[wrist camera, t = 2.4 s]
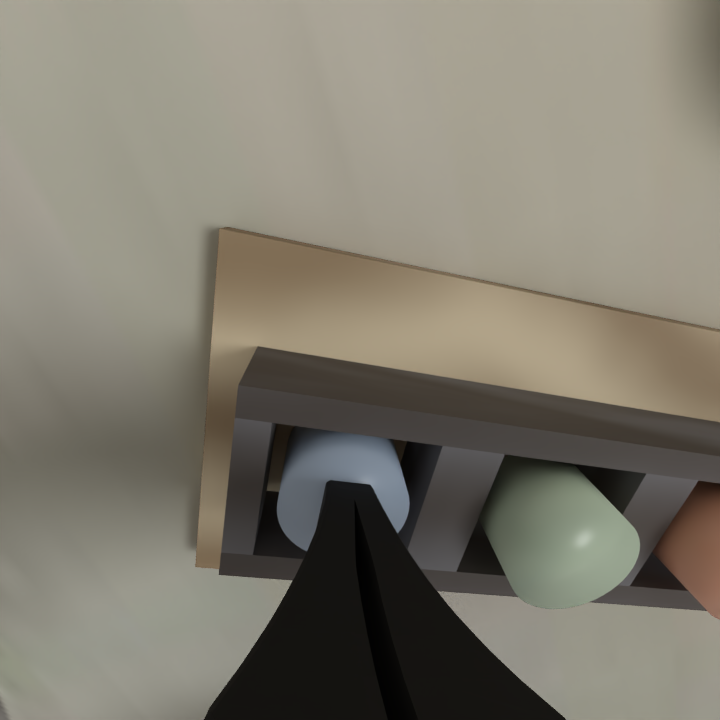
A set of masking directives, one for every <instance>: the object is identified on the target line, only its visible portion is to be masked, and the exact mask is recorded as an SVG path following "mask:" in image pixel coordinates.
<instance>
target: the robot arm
mask: <svg viewBox="0 0 720 720" xmlns="http://www.w3.org/2000/svg"><path fill="white" fill-rule="evenodd" d="M204 720H566V719H565V718H564V717H563V716H562V715H561V714H560V713H558V712H557V711H556V710H555V709H554V708H553V707H551V706H550V705H549V704H548V703H547V702H546V701H544V700H543V699H542V698H541V697H540V696H539V695H538V694H536V693H535V692H534V691H533V690H532V689H531V688H529V687H528V686H527V685H526V684H525V683H524V682H522V681H521V680H520V679H519V678H518V677H517V676H516V675H515V674H514V673H513V672H512V671H511V670H510V669H508V668H507V667H506V666H505V665H504V664H503V663H502V662H501V661H500V660H499V659H498V658H497V657H496V656H495V655H494V654H493V653H492V652H491V651H490V650H489V649H488V648H487V647H486V646H485V645H484V644H483V643H482V642H481V641H480V640H479V639H478V638H477V637H476V636H475V634H474V633H473V632H472V631H471V630H470V629H469V628H468V627H467V626H466V625H465V624H464V623H463V621H462V620H461V619H460V618H459V617H458V616H457V615H456V614H455V613H454V611H453V610H452V609H451V608H450V607H449V606H448V604H447V603H446V602H445V601H444V599H443V598H442V597H441V596H440V594H439V593H438V592H437V591H436V589H435V588H434V587H433V585H432V584H431V583H430V581H429V580H428V579H427V577H426V576H425V575H424V573H423V572H422V570H421V569H420V567H419V566H418V565H417V563H416V562H415V560H414V559H413V557H412V556H411V554H410V553H409V551H408V550H407V548H406V546H405V545H404V543H403V542H402V540H401V538H400V537H399V535H398V533H397V532H396V530H395V528H394V527H393V525H392V523H391V521H390V520H389V518H388V516H387V514H386V512H385V511H384V509H383V507H382V505H381V503H380V501H379V499H378V497H377V495H376V493H375V491H374V489H373V488H372V486H371V485H370V484H361V483H352V482H343V481H335V480H330V481H328V482H326V485H325V490H324V495H323V499H322V504H321V508H320V513H319V518H318V522H317V527H316V531H315V533H314V536H313V538H312V541H311V543H310V545H309V548H308V550H307V552H306V555H305V557H304V559H303V561H302V563H301V565H300V567H299V570H298V572H297V574H296V576H295V577H294V579H293V581H292V583H291V585H290V587H289V589H288V591H287V593H286V594H285V596H284V598H283V600H282V601H281V603H280V605H279V607H278V608H277V610H276V612H275V613H274V615H273V617H272V618H271V620H270V622H269V623H268V625H267V627H266V628H265V630H264V631H263V633H262V634H261V636H260V637H259V639H258V640H257V642H256V643H255V645H254V646H253V648H252V649H251V651H250V652H249V654H248V655H247V657H246V658H245V660H244V661H243V663H242V664H241V666H240V667H239V668H238V670H237V671H236V673H235V674H234V675H233V677H232V678H231V679H230V681H229V682H228V683H227V685H226V686H225V687H224V689H223V690H222V692H221V693H220V694H219V696H218V697H217V698H216V700H215V701H214V702H213V704H212V705H211V707H210V708H209V710H208V712H207V715H206V717H205V719H204Z"/></svg>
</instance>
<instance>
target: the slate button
mask: <svg viewBox="0 0 720 720" xmlns="http://www.w3.org/2000/svg"><path fill="white" fill-rule="evenodd" d="M330 480H335V481H343V482H352V483H361V484H370V485H371V486H372V488H373V489H374V491H375V493H376V495H377V497H378V499H379V501H380V503H381V505H382V507H383V509H384V511H385V512H386V514H387V516H388V518H389V520H390V521H391V523H392V525H393V527H394V528H395V530H396V532H397V533H398V532H399V531H400V530H401V528H402V527H403V525H404V523H405V521H406V519H407V516H408V512H409V504H410V503H409V495H408V491H407V488H406V484H405V480H404V477H403V473H402V470H401V466H400V463H399V459H398V456H397V452H396V448H395V445H394V441H393V439H388V438H380V437H373V436H365V435H358V434H351V433H343V432H336V431H329V430H321V429H314V428H306V427H299V426H295V427H294V428H293V430H292V432H291V434H290V436H289V439H288V443H287V449H286V455H285V461H284V467H283V473H282V478H281V484H280V490H279V496H278V502H277V517H278V521H279V524H280V526H281V528H282V530H283V532H284V533H285V535H286V536H287V537H288V538H289V539H290V540H291V541H292V542H293V543H294V544H295V545H297V546H298V547H300V548H301V549H303V550H305V551H307V550H308V548H309V545H310V543H311V541H312V538H313V536H314V533H315V531H316V527H317V522H318V518H319V513H320V508H321V504H322V499H323V495H324V490H325V485H326V482H328V481H330Z"/></svg>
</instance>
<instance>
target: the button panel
mask: <svg viewBox="0 0 720 720" xmlns="http://www.w3.org/2000/svg"><path fill="white" fill-rule="evenodd" d="M295 426H299V427H306V428H314V429H321V430H329V431H336V432H343V433H351V434H358V435H365V436H373V437H380V438H388V439H393V441H394V445H395V448H396V452H397V456H398V459H399V463H400V466H401V470H402V473H403V477H404V480H405V484H406V488H407V491H408V495H409V503H410V504H409V512H408V516H407V519H406V521H405V523H404V525H403V527H402V528H401V530H400V531H399V532H398V535H399V537H400V538H401V540H402V542H403V543H404V545H405V546H406V548H407V550H408V551H409V553H410V554H411V556H412V557H413V559H414V560H415V562H416V563H417V565H418V566H419V567H420V569H421V570H422V572H423V573H424V575H425V576H426V577H427V579H428V580H429V581H430V583H431V584H432V585H433V587H434V588H435V589H436V591H445V592H459V593H472V594H486V595H499V596H513V597H518V596H517V595H516V594H515V592H514V591H513V589H512V587H511V585H510V583H509V581H508V579H507V577H506V575H505V572H504V570H503V568H502V566H501V564H500V562H499V560H498V558H497V556H496V554H495V552H494V550H493V548H492V546H491V544H490V541H489V539H488V537H487V535H486V533H485V531H484V529H483V527H482V525H481V523H480V521H479V519H478V518H479V516H480V513H481V511H482V508H483V506H484V504H485V501H486V499H487V496H488V494H489V491H490V489H491V487H492V484H493V482H494V479H495V477H496V475H497V472H498V470H499V467H500V465H501V462H502V460H503V458H505V457H507V456H509V455H513V456H521V457H528V458H536V459H543V460H550V461H558V462H565V463H573V464H574V465H575V466H576V467H577V468H578V469H579V470H580V471H581V472H582V473H583V474H584V476H585V477H586V478H587V479H588V480H589V481H590V482H591V483H592V484H593V485H594V486H595V487H596V488H597V489H598V490H599V491H600V492H601V493H602V494H603V495H604V496H605V497H606V499H607V500H608V501H609V502H610V503H611V504H612V505H613V506H614V507H615V508H616V509H617V510H618V511H619V512H620V513H621V514H622V515H623V516H624V517H625V518H626V519H627V520H628V522H629V523H630V524H631V525H632V526H633V527H634V528H635V530H636V531H637V533H638V536H639V540H640V551H639V555H638V558H637V561H636V563H635V565H634V567H633V569H632V570H631V571H630V573H629V574H628V575H627V576H626V578H625V579H624V580H623V581H622V582H621V583H620V584H618V585H617V586H616V587H615V588H613V589H612V590H611V591H609V592H608V593H606V594H605V595H603V596H601V597H599V598H597V599H595V600H593V601H590V602H594V603H608V604H621V605H635V606H648V607H662V608H675V609H689V610H702V611H707V610H706V609H705V608H704V607H703V606H702V605H701V604H700V603H699V602H698V600H697V599H696V598H695V597H694V596H693V595H692V594H691V593H690V592H689V591H688V590H687V589H686V588H685V587H684V586H683V585H682V583H681V582H680V581H679V580H678V579H677V578H676V577H675V576H674V575H673V574H672V573H671V572H670V571H669V570H668V569H667V567H666V566H665V565H664V564H663V563H662V562H661V561H660V560H659V559H658V558H657V557H656V556H655V555H654V554H653V553H652V551H653V550H654V548H655V546H656V545H657V543H658V542H659V540H660V539H661V537H662V536H663V534H664V533H665V531H666V530H667V528H668V527H669V525H670V524H671V522H672V520H673V519H674V517H675V516H676V514H677V513H678V511H679V510H680V508H681V507H682V505H683V504H684V502H685V501H686V499H687V498H688V496H689V495H690V493H691V491H692V490H693V488H694V487H695V485H696V484H697V482H698V481H706V482H713V483H720V330H719V329H714V328H709V327H704V326H699V325H695V324H690V323H685V322H680V321H675V320H671V319H666V318H661V317H656V316H651V315H647V314H642V313H637V312H632V311H627V310H623V309H618V308H613V307H608V306H604V305H599V304H594V303H589V302H584V301H580V300H575V299H570V298H565V297H560V296H556V295H551V294H546V293H541V292H536V291H532V290H527V289H522V288H517V287H512V286H508V285H503V284H498V283H493V282H489V281H484V280H479V279H474V278H469V277H465V276H460V275H455V274H450V273H445V272H441V271H436V270H431V269H426V268H421V267H417V266H412V265H407V264H402V263H397V262H393V261H388V260H383V259H378V258H374V257H369V256H364V255H359V254H354V253H350V252H345V251H340V250H335V249H330V248H326V247H321V246H316V245H311V244H306V243H302V242H297V241H292V240H287V239H283V238H278V237H273V236H268V235H263V234H259V233H254V232H249V231H244V230H239V229H235V228H230V227H225V228H220V229H219V241H218V255H217V269H216V283H215V297H214V311H213V325H212V339H211V353H210V367H209V382H208V396H207V410H206V424H205V438H204V452H203V466H202V480H201V494H200V508H199V522H198V537H197V551H196V565H195V567H201V568H214V569H219V575H228V576H242V577H255V578H269V579H283V580H293V579H294V577H295V576H296V574H297V572H298V570H299V567H300V565H301V563H302V561H303V559H304V557H305V555H306V552H307V551H305V550H303V549H301V548H300V547H298V546H297V545H295V544H294V543H293V542H292V541H291V540H290V539H289V538H288V537H287V536H286V535H285V533H284V532H283V530H282V528H281V526H280V524H279V521H278V517H277V502H278V496H279V490H280V484H281V478H282V473H283V467H284V461H285V455H286V449H287V443H288V439H289V436H290V434H291V432H292V430H293V428H294V427H295Z"/></svg>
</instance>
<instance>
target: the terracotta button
mask: <svg viewBox="0 0 720 720" xmlns="http://www.w3.org/2000/svg"><path fill="white" fill-rule="evenodd" d="M652 553H653V554H654V555H655V556H656V557H657V558H658V559H659V560H660V561H661V562H662V563H663V564H664V565H665V566H666V567H667V569H668V570H669V571H670V572H671V573H672V574H673V575H674V576H675V577H676V578H677V579H678V580H679V581H680V582H681V583H682V585H683V586H684V587H685V588H686V589H687V590H688V591H689V592H690V593H691V594H692V595H693V596H694V597H695V598H696V599H697V600H698V602H699V603H700V604H701V605H702V606H703V607H704V608H705V609H706V610H707V611H708V612H709V613H710V614H711V615H712V616H714V617H715V618H718V619H720V483H713V482H706V481H698V482H697V484H696V485H695V487H694V488H693V490H692V491H691V493H690V495H689V496H688V498H687V499H686V501H685V502H684V504H683V505H682V507H681V508H680V510H679V511H678V513H677V514H676V516H675V517H674V519H673V520H672V522H671V524H670V525H669V527H668V528H667V530H666V531H665V533H664V534H663V536H662V537H661V539H660V540H659V542H658V543H657V545H656V546H655V548H654V550H653V551H652Z"/></svg>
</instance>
